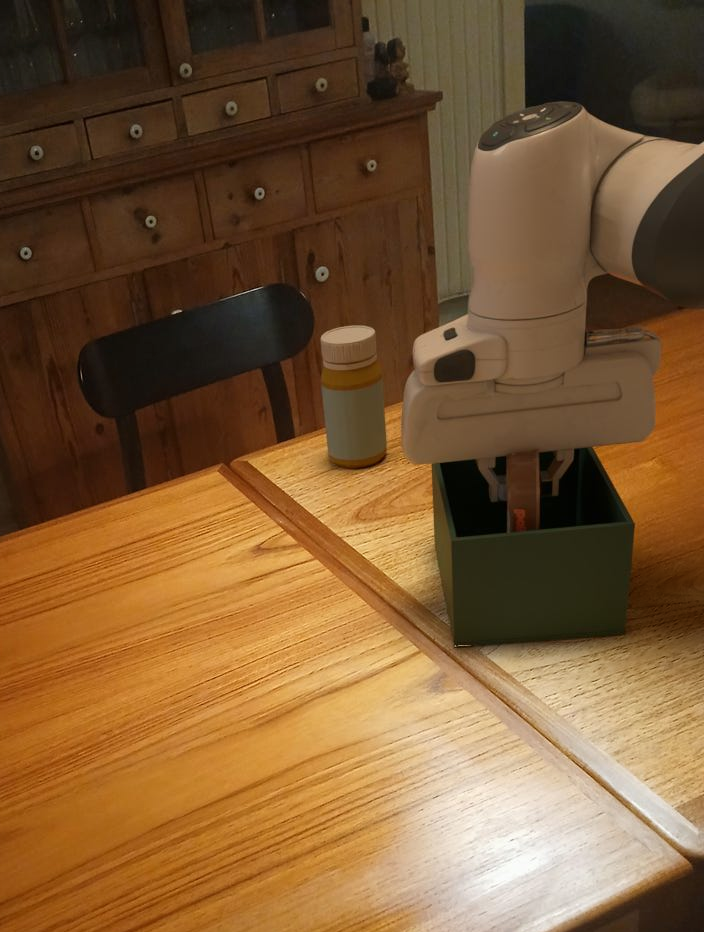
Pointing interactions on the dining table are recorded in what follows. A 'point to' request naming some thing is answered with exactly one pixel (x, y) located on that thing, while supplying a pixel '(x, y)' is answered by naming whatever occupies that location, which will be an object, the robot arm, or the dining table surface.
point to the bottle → (353, 397)
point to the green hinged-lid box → (532, 556)
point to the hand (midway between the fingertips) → (522, 496)
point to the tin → (523, 491)
